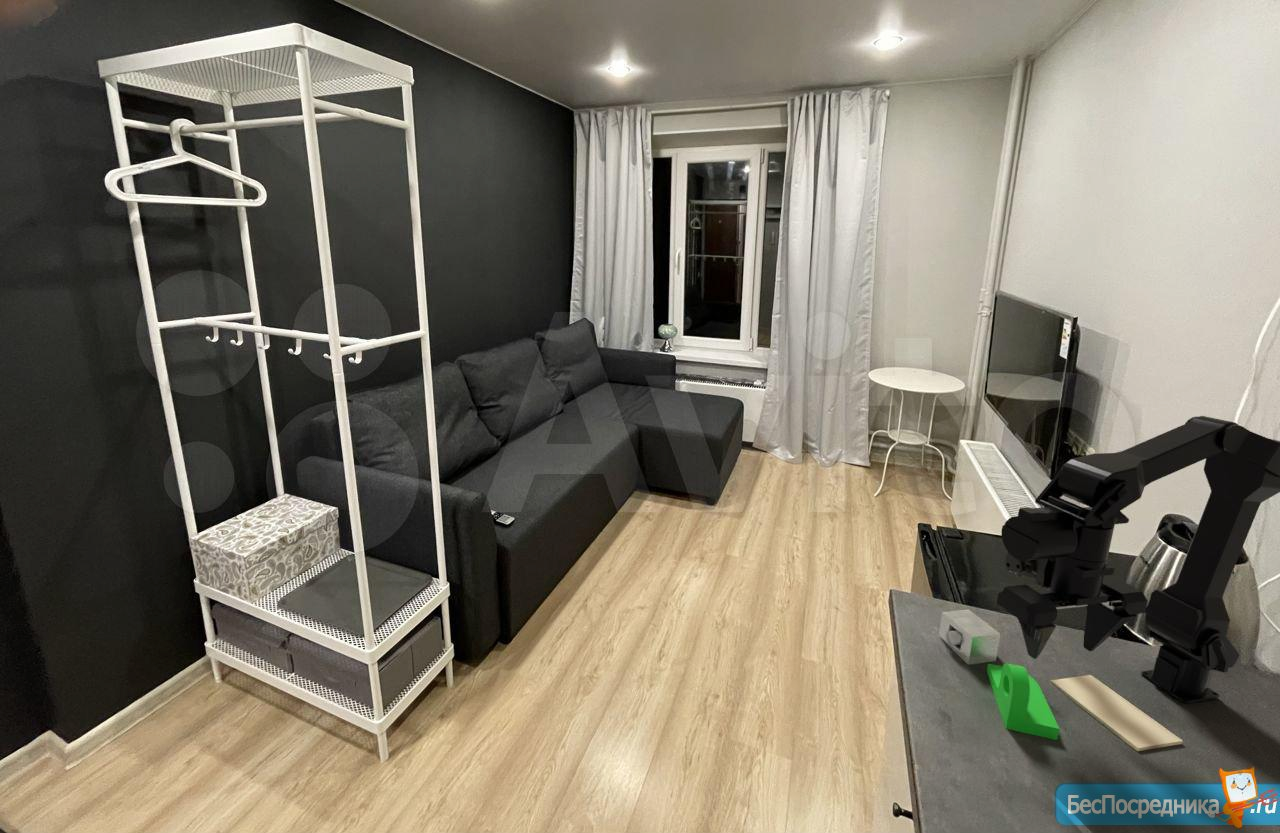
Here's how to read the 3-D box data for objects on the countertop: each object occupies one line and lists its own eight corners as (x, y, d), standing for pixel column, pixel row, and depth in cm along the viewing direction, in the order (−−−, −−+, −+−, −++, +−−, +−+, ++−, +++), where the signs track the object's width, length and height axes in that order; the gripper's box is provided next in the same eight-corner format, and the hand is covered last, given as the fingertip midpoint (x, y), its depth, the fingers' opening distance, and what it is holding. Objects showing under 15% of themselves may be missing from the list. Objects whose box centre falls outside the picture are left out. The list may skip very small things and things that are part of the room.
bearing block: (963, 637, 99) (968, 609, 97) (995, 663, 92) (1000, 633, 91) (938, 640, 98) (942, 612, 97) (967, 667, 91) (972, 637, 90)
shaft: (979, 636, 97) (982, 617, 96) (995, 649, 94) (999, 630, 93) (941, 641, 96) (944, 622, 95) (956, 654, 92) (959, 635, 92)
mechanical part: (1056, 741, 77) (1067, 690, 75) (1005, 729, 79) (1014, 679, 77) (1030, 683, 88) (1039, 637, 86) (986, 674, 90) (993, 629, 88)
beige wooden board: (1090, 677, 89) (1090, 674, 89) (1182, 743, 76) (1182, 740, 76) (1050, 683, 88) (1050, 680, 88) (1137, 751, 75) (1138, 748, 75)
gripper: (1084, 522, 87) (1065, 614, 90) (975, 532, 83) (961, 626, 87) (1161, 557, 76) (1137, 659, 80) (1040, 569, 73) (1020, 675, 76)
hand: (1060, 653), depth 81 cm, fingers open, 9 cm apart
